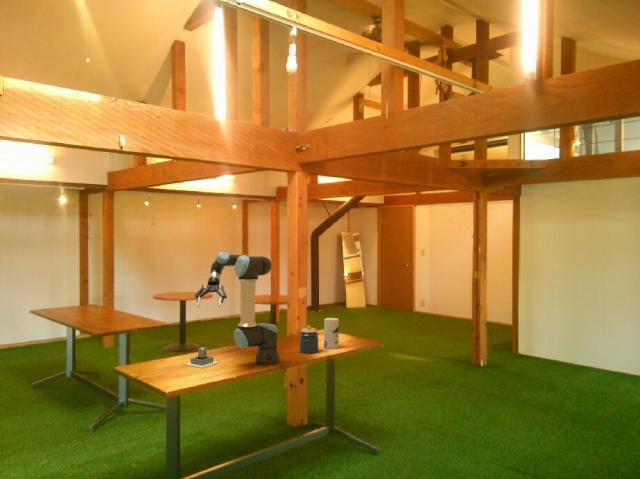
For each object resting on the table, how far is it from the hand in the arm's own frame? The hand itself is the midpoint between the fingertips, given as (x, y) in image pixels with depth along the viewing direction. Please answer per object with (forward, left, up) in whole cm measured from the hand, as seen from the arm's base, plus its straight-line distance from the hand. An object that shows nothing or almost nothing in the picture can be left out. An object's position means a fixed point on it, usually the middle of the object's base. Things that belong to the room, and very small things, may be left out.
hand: (208, 306), depth 301 cm
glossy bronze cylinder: (-7, +13, -32) cm, 35 cm away
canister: (-45, -48, -33) cm, 73 cm away
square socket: (-7, +13, -33) cm, 36 cm away
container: (-52, -67, -33) cm, 91 cm away
